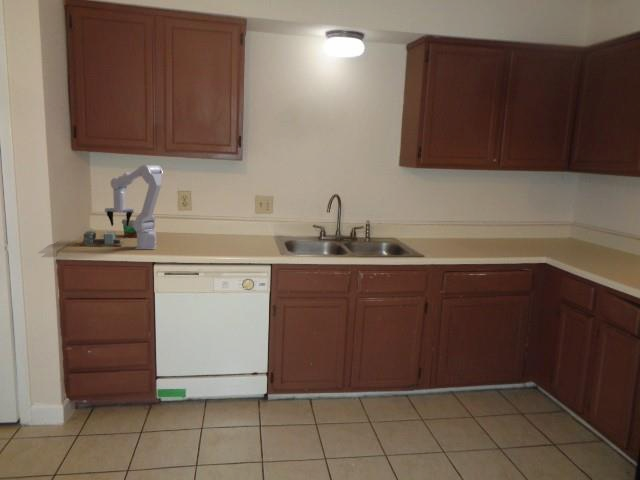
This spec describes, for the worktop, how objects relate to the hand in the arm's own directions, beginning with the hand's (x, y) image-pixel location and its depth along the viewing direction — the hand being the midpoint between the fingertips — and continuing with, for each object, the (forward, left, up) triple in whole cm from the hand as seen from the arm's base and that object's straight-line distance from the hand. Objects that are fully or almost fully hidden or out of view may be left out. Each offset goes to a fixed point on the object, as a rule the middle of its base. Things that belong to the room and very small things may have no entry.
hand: (119, 225), depth 264 cm
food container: (-2, -16, -10) cm, 19 cm away
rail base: (+8, +6, -9) cm, 14 cm away
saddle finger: (+4, +6, -8) cm, 11 cm away
